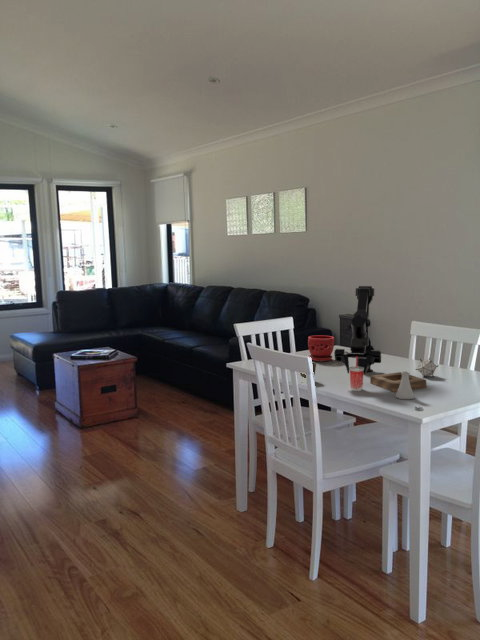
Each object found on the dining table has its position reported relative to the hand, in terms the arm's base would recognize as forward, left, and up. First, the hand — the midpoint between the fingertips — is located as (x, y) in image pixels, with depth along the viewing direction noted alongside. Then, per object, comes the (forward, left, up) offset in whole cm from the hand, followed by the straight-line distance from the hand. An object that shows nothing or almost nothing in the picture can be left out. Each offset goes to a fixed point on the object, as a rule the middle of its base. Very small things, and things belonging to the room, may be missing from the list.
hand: (356, 373), depth 234 cm
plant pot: (-58, +18, -7) cm, 61 cm away
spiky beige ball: (-6, +41, -7) cm, 42 cm away
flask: (+17, +11, -7) cm, 21 cm away
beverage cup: (-1, +1, -7) cm, 7 cm away
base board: (+1, +20, -7) cm, 21 cm away
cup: (-22, -10, -7) cm, 25 cm away
